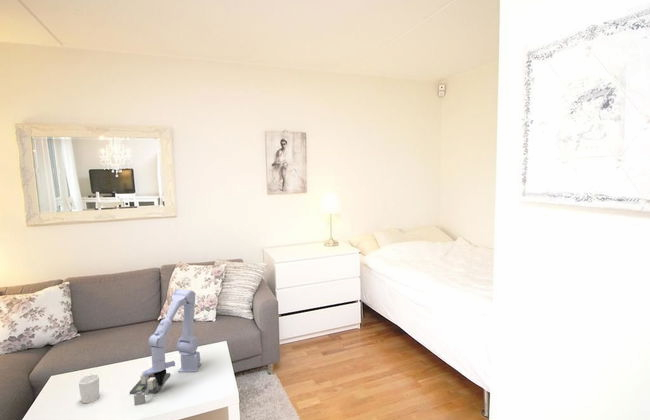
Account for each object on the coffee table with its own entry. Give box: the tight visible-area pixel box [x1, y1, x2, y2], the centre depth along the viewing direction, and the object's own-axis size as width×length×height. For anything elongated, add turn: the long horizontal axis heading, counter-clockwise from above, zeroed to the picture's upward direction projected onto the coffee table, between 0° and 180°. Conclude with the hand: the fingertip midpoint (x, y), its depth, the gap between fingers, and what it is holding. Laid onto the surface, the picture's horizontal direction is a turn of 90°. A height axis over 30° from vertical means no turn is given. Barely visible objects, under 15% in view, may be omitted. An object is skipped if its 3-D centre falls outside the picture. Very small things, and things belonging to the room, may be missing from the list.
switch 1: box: [139, 373, 149, 384], centre depth 168 cm, size 2×3×4 cm
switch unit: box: [129, 372, 171, 395], centre depth 168 cm, size 13×15×1 cm
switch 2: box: [147, 377, 156, 390], centre depth 163 cm, size 2×3×4 cm
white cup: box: [78, 373, 100, 404], centre depth 157 cm, size 8×8×10 cm
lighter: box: [133, 384, 151, 406], centre depth 154 cm, size 7×2×8 cm, turn 107°
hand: (160, 384), depth 163 cm, fingers closed
